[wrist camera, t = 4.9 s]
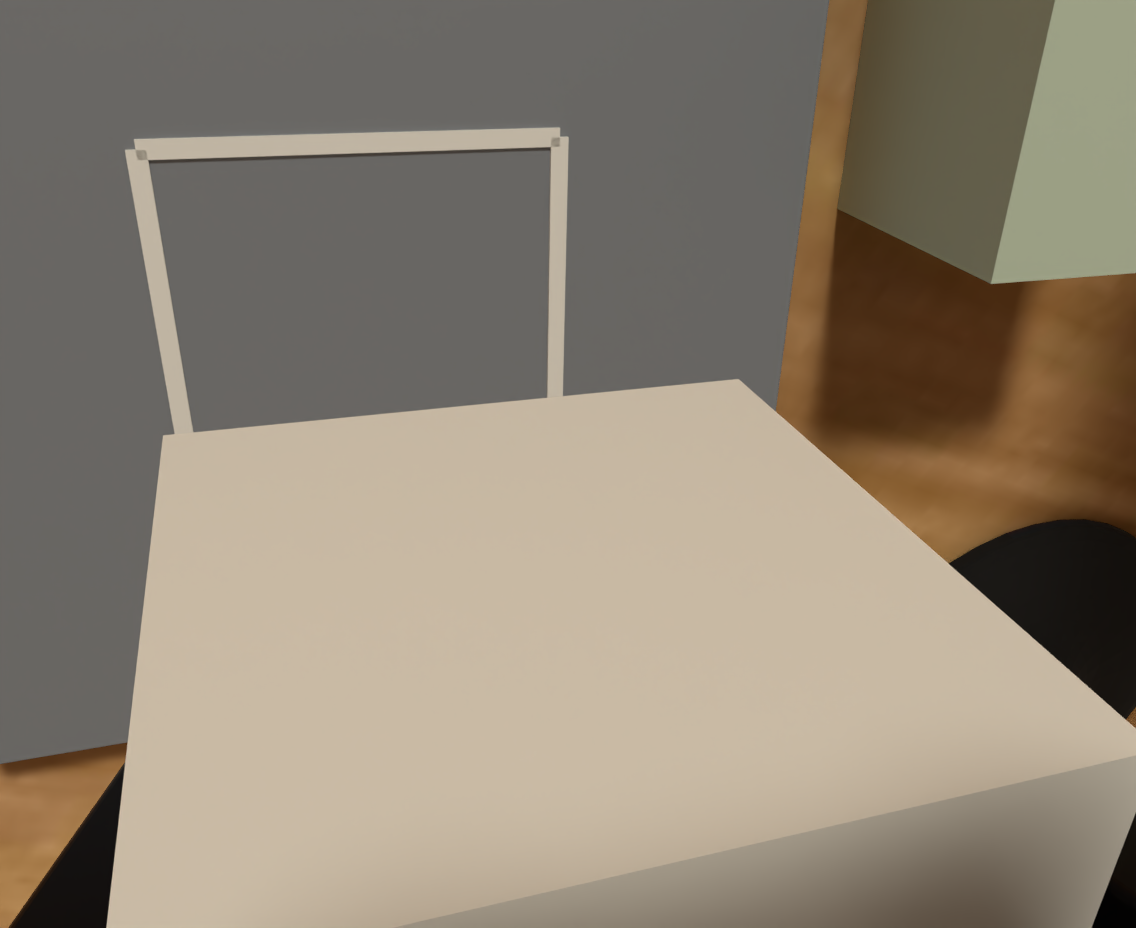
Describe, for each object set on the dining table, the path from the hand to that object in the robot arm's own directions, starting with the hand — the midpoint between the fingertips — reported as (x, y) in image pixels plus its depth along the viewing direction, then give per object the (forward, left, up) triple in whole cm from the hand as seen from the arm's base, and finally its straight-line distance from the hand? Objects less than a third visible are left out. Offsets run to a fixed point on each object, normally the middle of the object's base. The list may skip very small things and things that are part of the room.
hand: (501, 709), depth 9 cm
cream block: (0, 0, -1) cm, 1 cm away
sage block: (-12, -4, -11) cm, 17 cm away
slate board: (0, 0, -11) cm, 11 cm away
